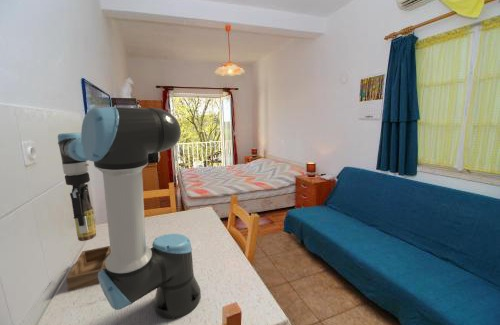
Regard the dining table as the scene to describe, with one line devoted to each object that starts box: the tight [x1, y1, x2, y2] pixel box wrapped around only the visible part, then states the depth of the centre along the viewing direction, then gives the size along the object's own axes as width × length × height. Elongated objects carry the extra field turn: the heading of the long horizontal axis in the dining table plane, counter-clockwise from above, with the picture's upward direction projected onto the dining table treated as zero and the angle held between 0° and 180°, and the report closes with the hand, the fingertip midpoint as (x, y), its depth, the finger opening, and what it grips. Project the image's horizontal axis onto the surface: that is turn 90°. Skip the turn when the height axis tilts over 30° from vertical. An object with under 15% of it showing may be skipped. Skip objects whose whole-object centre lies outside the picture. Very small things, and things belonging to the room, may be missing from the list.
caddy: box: [66, 245, 111, 292], centre depth 98 cm, size 20×22×6 cm
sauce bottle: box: [74, 190, 97, 242], centre depth 92 cm, size 7×6×20 cm
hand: (86, 228), depth 93 cm, fingers closed on sauce bottle, 6 cm apart
